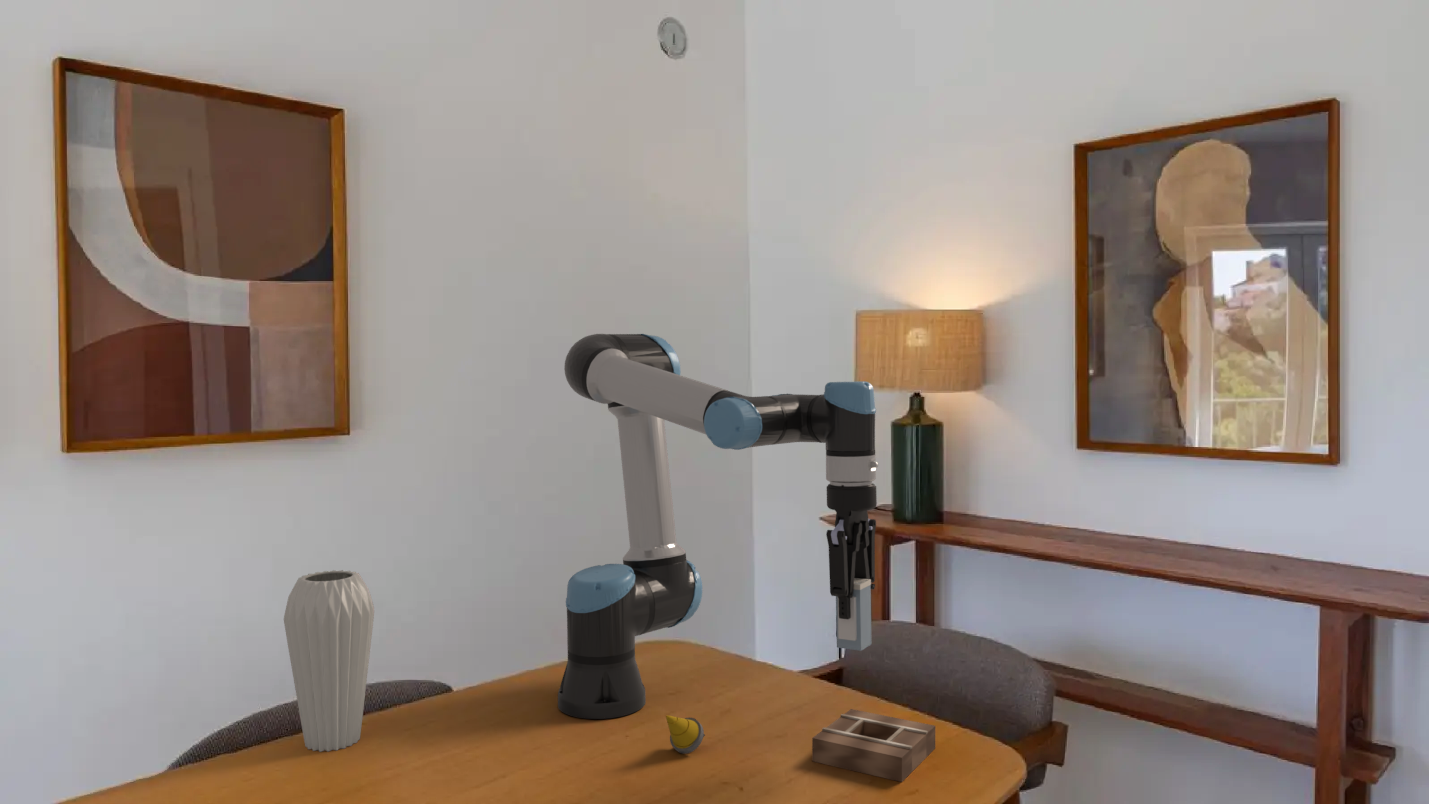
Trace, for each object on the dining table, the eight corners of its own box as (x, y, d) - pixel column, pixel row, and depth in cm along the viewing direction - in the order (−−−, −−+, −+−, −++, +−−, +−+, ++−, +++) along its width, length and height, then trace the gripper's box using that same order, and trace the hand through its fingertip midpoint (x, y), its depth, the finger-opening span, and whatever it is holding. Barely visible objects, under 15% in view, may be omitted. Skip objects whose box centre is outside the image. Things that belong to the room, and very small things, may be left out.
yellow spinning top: (714, 754, 150) (683, 725, 144) (683, 766, 151) (651, 737, 145) (709, 723, 154) (680, 693, 148) (679, 735, 155) (649, 706, 149)
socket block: (812, 761, 146) (812, 736, 146) (851, 730, 158) (850, 707, 158) (901, 782, 139) (901, 755, 138) (935, 748, 151) (935, 723, 150)
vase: (395, 733, 158) (392, 571, 157) (331, 764, 146) (327, 589, 145) (334, 721, 164) (330, 564, 162) (267, 750, 152) (262, 581, 150)
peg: (836, 647, 150) (835, 582, 149) (847, 640, 153) (846, 577, 153) (861, 651, 147) (860, 584, 147) (872, 644, 151) (870, 579, 151)
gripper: (851, 490, 140) (854, 652, 141) (895, 477, 155) (897, 625, 155) (803, 488, 144) (806, 646, 145) (851, 476, 159) (854, 619, 159)
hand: (854, 635), depth 150 cm, fingers closed on peg, 4 cm apart
